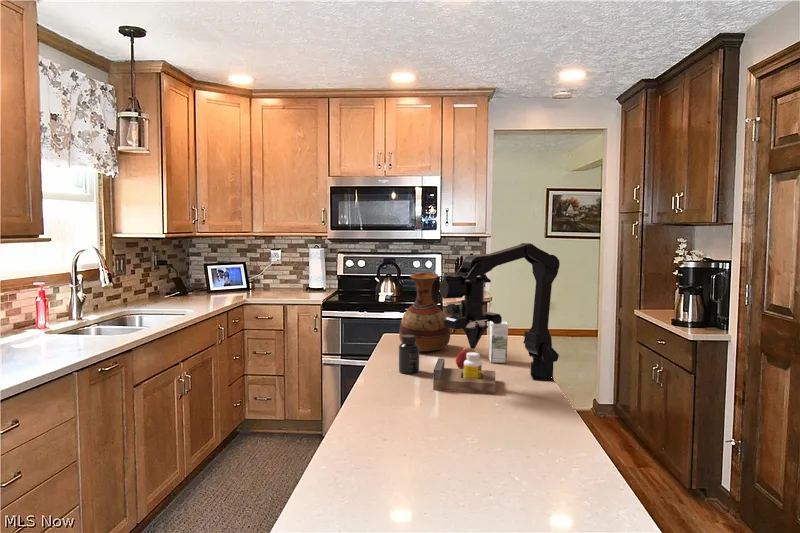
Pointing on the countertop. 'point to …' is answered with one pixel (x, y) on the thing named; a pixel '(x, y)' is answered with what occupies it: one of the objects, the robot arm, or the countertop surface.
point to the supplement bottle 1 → (409, 355)
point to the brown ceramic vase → (426, 315)
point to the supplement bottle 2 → (472, 366)
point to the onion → (461, 358)
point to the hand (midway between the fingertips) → (472, 348)
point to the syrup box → (498, 342)
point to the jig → (462, 380)
